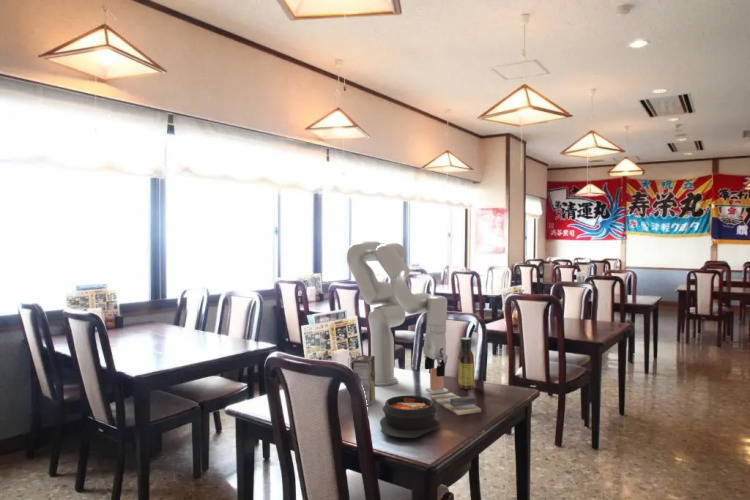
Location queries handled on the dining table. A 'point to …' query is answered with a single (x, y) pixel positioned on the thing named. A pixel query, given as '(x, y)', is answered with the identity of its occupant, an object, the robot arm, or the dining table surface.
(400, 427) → the casserole
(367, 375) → the coffee box
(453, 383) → the dining table surface
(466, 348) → the sauce bottle
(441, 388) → the tan and white stand
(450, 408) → the ticket board
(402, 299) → the robot arm
